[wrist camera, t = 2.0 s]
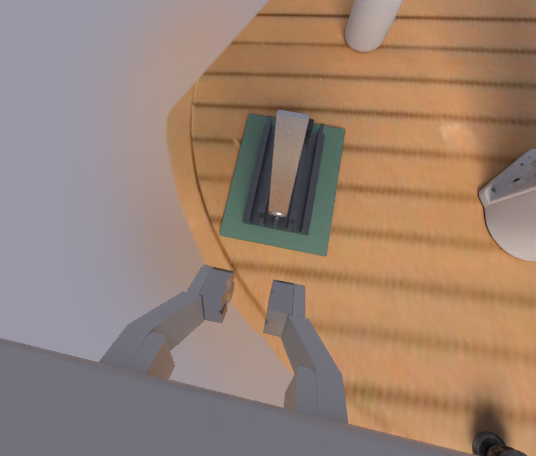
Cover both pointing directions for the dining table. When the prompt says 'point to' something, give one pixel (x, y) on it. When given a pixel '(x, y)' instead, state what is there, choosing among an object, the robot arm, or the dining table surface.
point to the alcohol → (370, 23)
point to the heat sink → (302, 188)
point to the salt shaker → (492, 446)
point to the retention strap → (286, 159)
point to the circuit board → (322, 201)
